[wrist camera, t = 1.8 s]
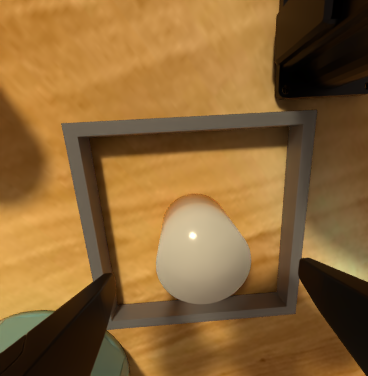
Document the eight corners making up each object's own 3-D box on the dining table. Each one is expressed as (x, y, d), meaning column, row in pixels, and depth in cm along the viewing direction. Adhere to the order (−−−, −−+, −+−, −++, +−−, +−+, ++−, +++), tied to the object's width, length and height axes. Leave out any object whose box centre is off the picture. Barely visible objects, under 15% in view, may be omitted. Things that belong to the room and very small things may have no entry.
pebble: (225, 191, 14) (252, 217, 9) (226, 250, 15) (249, 300, 10) (160, 196, 14) (151, 224, 9) (165, 254, 15) (160, 307, 10)
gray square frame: (301, 113, 13) (317, 109, 11) (284, 298, 16) (295, 314, 15) (74, 125, 12) (61, 123, 11) (109, 313, 16) (103, 330, 14)
